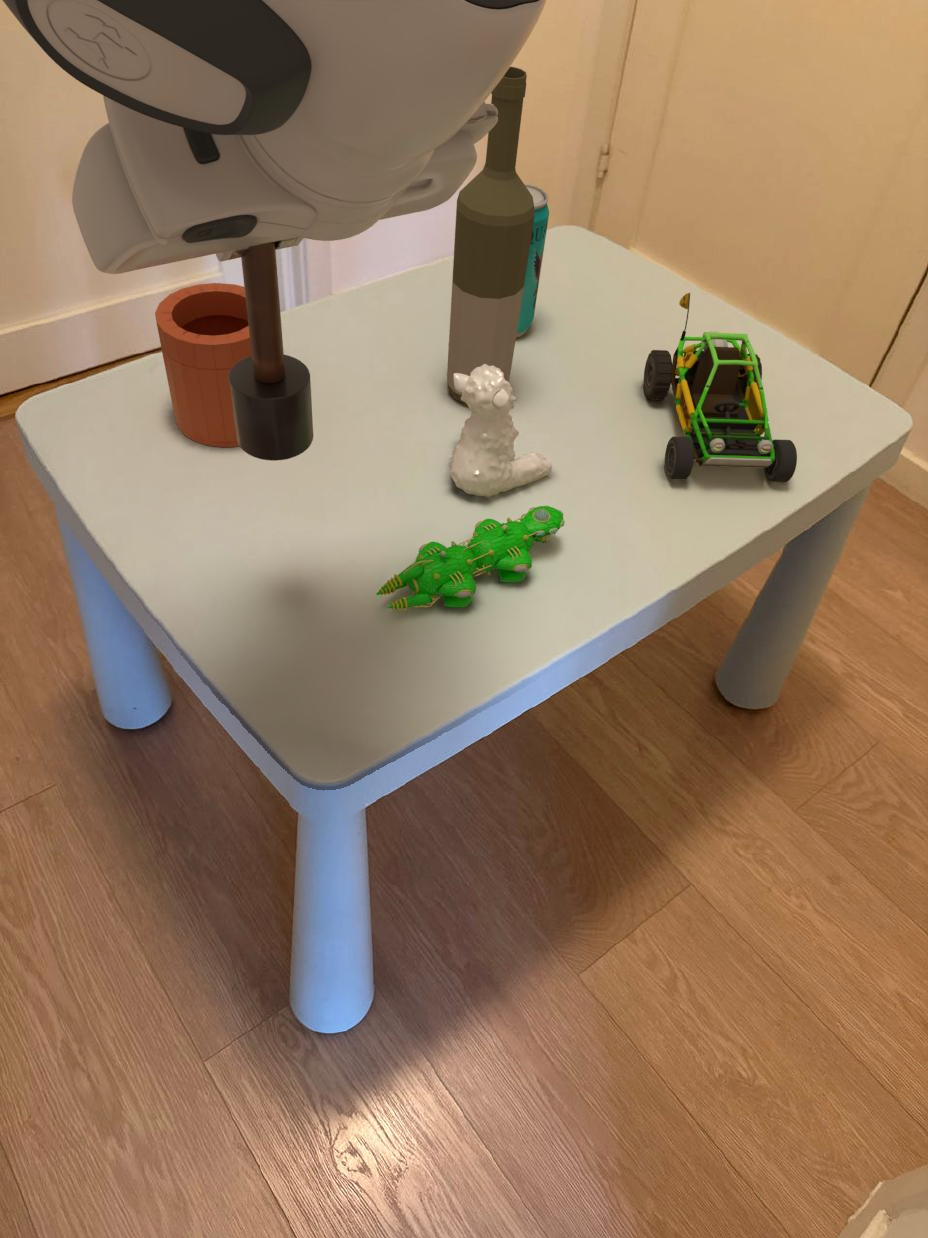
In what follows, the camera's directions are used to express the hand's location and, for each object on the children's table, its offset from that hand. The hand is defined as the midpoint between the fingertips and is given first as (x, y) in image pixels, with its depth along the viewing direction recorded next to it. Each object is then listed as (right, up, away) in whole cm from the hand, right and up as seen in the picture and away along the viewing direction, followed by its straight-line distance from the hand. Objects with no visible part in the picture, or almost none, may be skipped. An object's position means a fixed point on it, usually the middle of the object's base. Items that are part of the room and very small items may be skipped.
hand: (252, 240), depth 54 cm
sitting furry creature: (+14, -9, +33) cm, 37 cm away
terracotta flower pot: (-11, -2, +36) cm, 38 cm away
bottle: (+14, +1, +42) cm, 44 cm away
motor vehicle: (+37, -3, +40) cm, 55 cm away
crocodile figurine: (+13, -18, +25) cm, 33 cm away
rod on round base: (-1, -9, +10) cm, 14 cm away
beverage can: (+17, +10, +50) cm, 54 cm away
